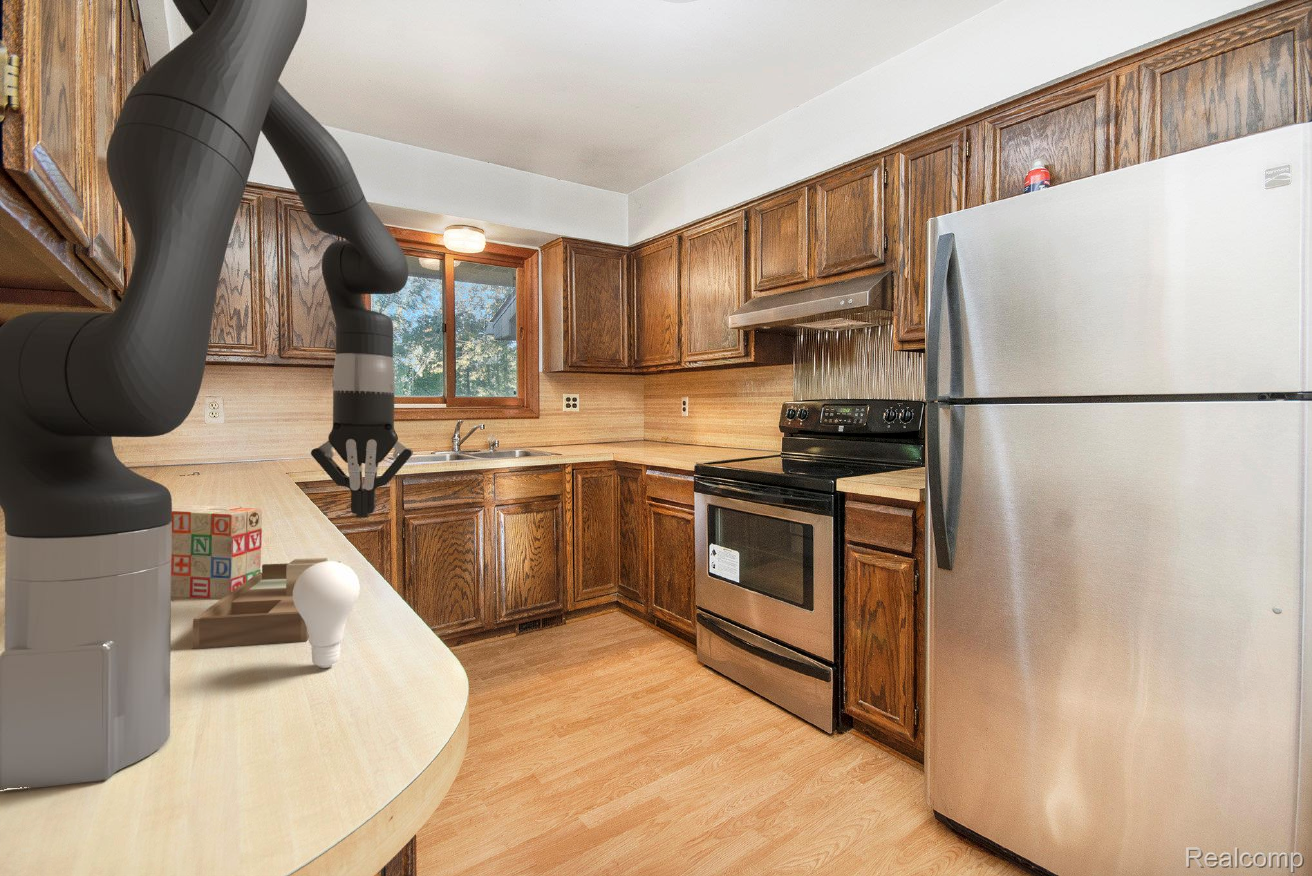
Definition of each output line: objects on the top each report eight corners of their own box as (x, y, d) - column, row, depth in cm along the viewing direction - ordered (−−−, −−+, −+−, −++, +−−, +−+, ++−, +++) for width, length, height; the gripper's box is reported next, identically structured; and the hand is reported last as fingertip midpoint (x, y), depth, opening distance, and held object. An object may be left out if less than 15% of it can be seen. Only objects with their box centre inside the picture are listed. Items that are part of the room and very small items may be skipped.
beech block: (320, 594, 81) (320, 564, 81) (286, 596, 80) (286, 565, 80) (327, 586, 85) (327, 557, 85) (294, 588, 84) (295, 558, 84)
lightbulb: (283, 682, 60) (284, 570, 60) (301, 658, 66) (302, 556, 66) (351, 676, 62) (353, 567, 61) (363, 654, 68) (365, 554, 67)
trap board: (306, 641, 71) (307, 602, 71) (192, 649, 68) (193, 608, 68) (344, 591, 91) (344, 561, 91) (258, 595, 88) (258, 564, 88)
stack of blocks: (87, 593, 88) (87, 507, 87) (127, 582, 94) (128, 502, 94) (230, 600, 86) (231, 512, 86) (262, 588, 93) (263, 506, 92)
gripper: (418, 392, 89) (417, 512, 89) (316, 388, 85) (315, 513, 85) (414, 390, 82) (412, 520, 82) (302, 386, 78) (301, 522, 78)
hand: (362, 516), depth 84 cm, fingers closed
